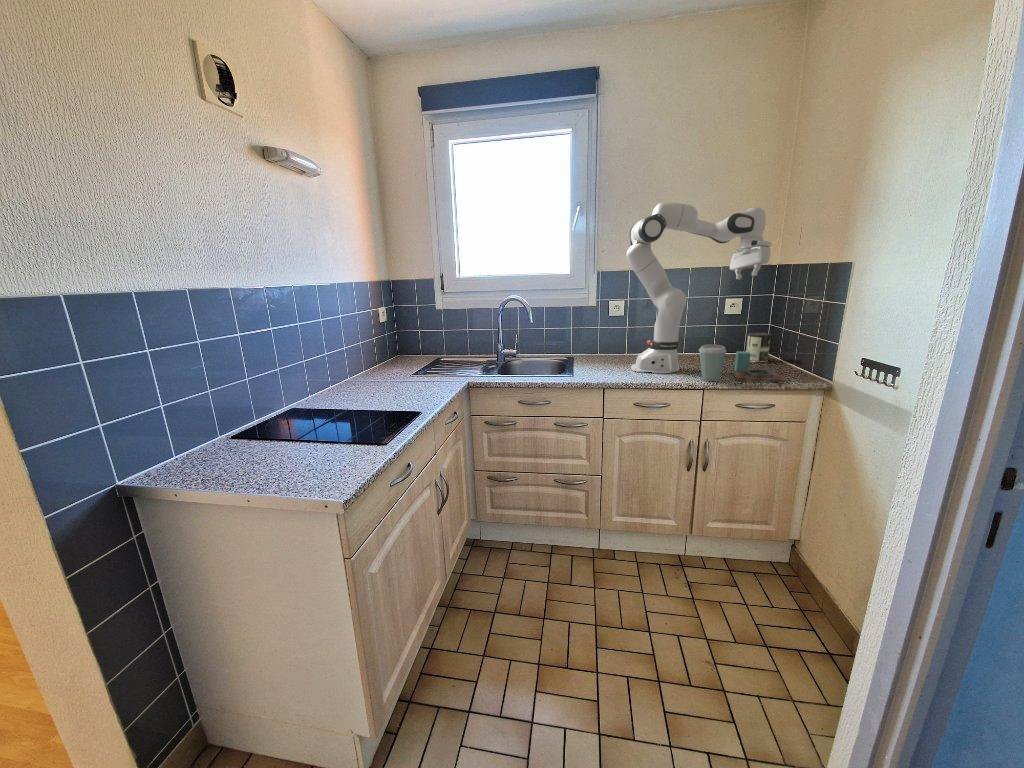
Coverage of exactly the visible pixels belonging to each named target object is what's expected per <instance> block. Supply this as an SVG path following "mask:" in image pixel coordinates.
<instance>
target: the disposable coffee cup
mask: <svg viewBox="0 0 1024 768" xmlns="http://www.w3.org/2000/svg"><path fill="white" fill-rule="evenodd" d="M698 352H699V358H700V359H699V361H700V371H701V379H702V381H704V380H706V381H705V382H709V381H715V382H718V381H719V380H720V379H721V374H722V369H723V365H724V361H725V358H726V357H725V356H726V354H727V349H726V347H725V346H724V345H721V344H713V343H711V344H704V345H701V346H700V347H699V349H698Z"/></svg>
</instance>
